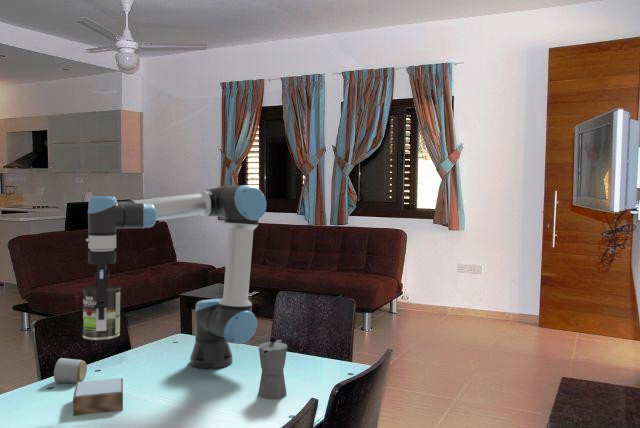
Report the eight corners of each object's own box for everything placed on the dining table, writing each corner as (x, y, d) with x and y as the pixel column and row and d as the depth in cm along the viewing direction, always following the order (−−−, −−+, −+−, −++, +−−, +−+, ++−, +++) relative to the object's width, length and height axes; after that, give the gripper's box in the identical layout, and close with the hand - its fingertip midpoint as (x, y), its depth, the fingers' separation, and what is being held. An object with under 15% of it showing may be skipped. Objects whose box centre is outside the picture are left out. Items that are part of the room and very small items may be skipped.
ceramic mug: (79, 386, 179) (79, 362, 179) (53, 385, 179) (53, 361, 179) (91, 375, 190) (91, 353, 190) (66, 375, 189) (67, 352, 189)
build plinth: (122, 394, 172) (122, 377, 172) (122, 410, 160) (122, 391, 160) (76, 399, 168) (76, 381, 168) (73, 415, 156) (73, 396, 156)
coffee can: (102, 342, 157) (103, 291, 156) (74, 337, 160) (74, 288, 160) (128, 333, 166) (128, 286, 166) (100, 329, 170) (101, 283, 169)
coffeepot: (278, 403, 167) (279, 343, 166) (249, 399, 170) (250, 340, 169) (296, 386, 182) (297, 331, 181) (269, 382, 185) (269, 328, 184)
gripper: (89, 246, 172) (89, 318, 173) (86, 254, 150) (85, 336, 151) (116, 245, 174) (115, 317, 175) (115, 253, 153) (115, 334, 154)
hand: (101, 326), depth 163 cm, fingers closed on coffee can, 10 cm apart
